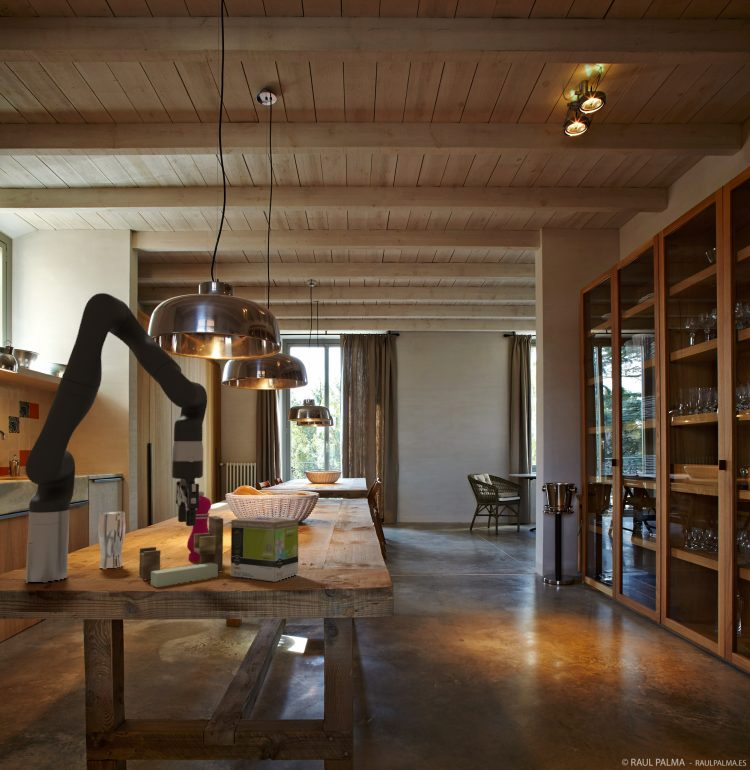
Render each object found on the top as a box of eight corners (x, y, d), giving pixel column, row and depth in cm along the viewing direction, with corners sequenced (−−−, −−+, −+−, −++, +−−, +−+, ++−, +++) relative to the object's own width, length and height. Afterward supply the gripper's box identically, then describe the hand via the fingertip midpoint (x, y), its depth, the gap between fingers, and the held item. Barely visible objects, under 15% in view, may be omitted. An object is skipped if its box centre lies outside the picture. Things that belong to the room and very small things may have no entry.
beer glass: (125, 563, 175) (126, 510, 176) (123, 568, 169) (125, 513, 170) (98, 565, 173) (100, 511, 174) (95, 570, 166) (97, 514, 168)
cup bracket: (199, 574, 161) (200, 520, 162) (193, 569, 167) (194, 517, 168) (222, 571, 164) (223, 518, 165) (215, 567, 170) (216, 515, 171)
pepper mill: (215, 557, 184) (216, 490, 186) (206, 562, 177) (208, 492, 179) (192, 557, 185) (193, 490, 187) (182, 561, 178) (184, 492, 179)
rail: (156, 588, 147) (156, 573, 147) (150, 586, 149) (150, 571, 150) (217, 578, 157) (217, 564, 158) (211, 576, 160) (211, 562, 160)
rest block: (143, 580, 154) (144, 552, 155) (138, 575, 160) (139, 548, 160) (159, 578, 156) (160, 550, 157) (155, 573, 162) (155, 546, 162)
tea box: (299, 575, 159) (299, 517, 160) (274, 583, 150) (274, 522, 152) (255, 569, 167) (256, 514, 168) (229, 576, 158) (229, 518, 159)
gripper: (166, 459, 161) (165, 521, 159) (179, 460, 148) (177, 528, 147) (195, 458, 164) (194, 519, 163) (210, 459, 152) (209, 526, 151)
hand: (186, 523), depth 155 cm, fingers open, 8 cm apart
